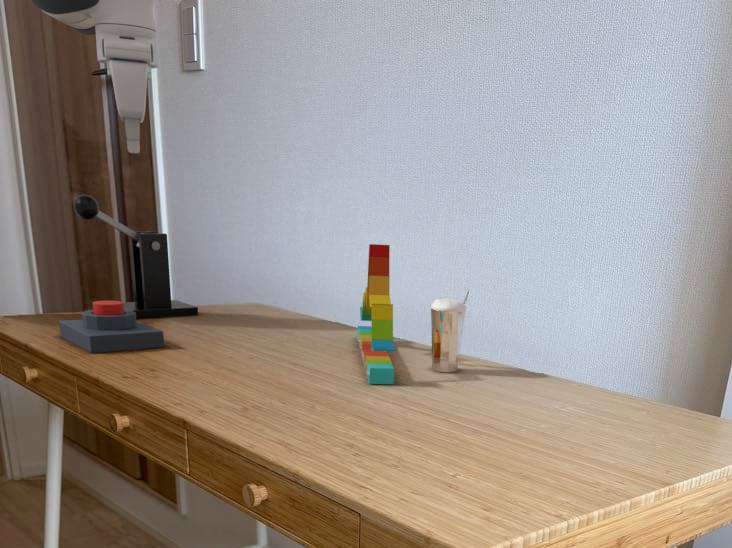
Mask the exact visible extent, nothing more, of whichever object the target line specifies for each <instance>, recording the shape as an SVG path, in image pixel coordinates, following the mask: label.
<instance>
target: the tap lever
mask: <svg viewBox="0 0 732 548" xmlns="http://www.w3.org/2000/svg"><path fill="white" fill-rule="evenodd" d="M73 210H74V211H75V213H76V215H77V216H78V217H80V219H83V220H86V221H89V220H93V219H95V218H97V219H98V220H100V221H101V222H103V223H105V224H107V225H108V226H110V227H111V228H113V229H115V230H117V231H118V232H121V233H122V234H123V235H125V236H127V237H129V238H130V237H131V238H132V239H134V240H136V241H137V242H138V243H137V245H136V246H137V247H138V248H140V247H139V234H137V233H136V232H137V231H134V230H132V229H131V228H129V227H127V226H126V225H125V224H122V223H121V222H119V221H117V220H116V219H114V218H113V217H111V216H109V215H108V214H106V213H104V212H102V211H101V210H100V206H99V203H98V201H97V199H95V198H94V197H93V196H92V195H89V194H81V195H79V196H77V197H76V198H75V200H74V203H73Z"/></svg>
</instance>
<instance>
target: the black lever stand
mask: <svg viewBox="0 0 732 548" xmlns="http://www.w3.org/2000/svg"><path fill="white" fill-rule="evenodd" d="M135 232H136V233H137V234H139V247H140V248H138V247H137V246H136V245H137V243H138V242H137V241H136V240H134V239H132V238H131V237H129V244H130V247H129V248H130V259H131V270H132V282H133V294H134V295H133V296H134V301H127V302H123V305H124V310H131V311H133V312H136V320H137V319H139V320H140V319H155V318H172V317H189V316H190V317H191V316H198V315H199V307H198V306H195V305H193V304H189V303H186V302H183V301H180V300H178V299H173V300H172V292H171V278H170V277H171V276H170V275H171V273H170V260H169V246H168V245H169V244H168V234H167V233H158V231H135Z"/></svg>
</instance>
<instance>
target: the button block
mask: <svg viewBox="0 0 732 548" xmlns="http://www.w3.org/2000/svg"><path fill="white" fill-rule="evenodd" d="M58 325H59V333H60V338H62V339H65V340H66V341H68V342H70V343H72V344H74V345H75V346H77V347H80V348H81V349H83V350H85V351H87V352H88V353H91V354H96V353H99V354H100V353H110V352H111V353H112V352H122V351H124V352H125V351H135V350H150V349H159V348H160V349H161V348H165V338H164V331H163V330H161V329H159V328H156V327H153V326H151V325H149V324H146V323H144V322H141V321H140V320H137V319H136V312H133V311H131V310H124V314H122V315H96V314H94V312H93V309H87V310H84V311H82V312H81V319H70V320H68V319H67V320H58Z"/></svg>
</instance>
